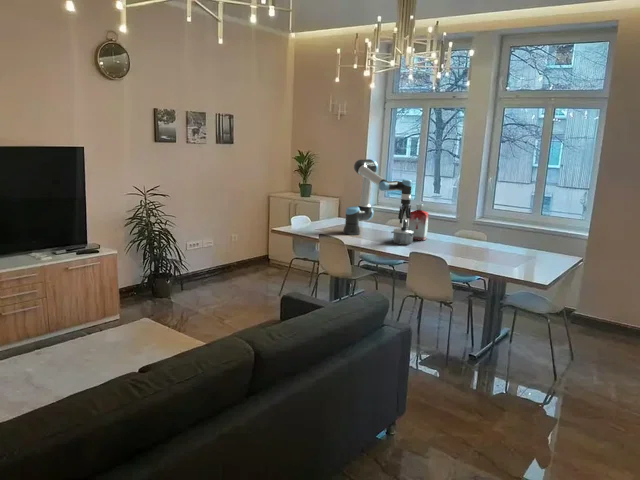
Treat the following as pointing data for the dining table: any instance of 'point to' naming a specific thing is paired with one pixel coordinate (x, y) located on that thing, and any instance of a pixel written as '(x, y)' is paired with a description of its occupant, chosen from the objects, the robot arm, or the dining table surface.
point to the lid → (403, 229)
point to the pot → (403, 238)
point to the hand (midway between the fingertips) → (403, 226)
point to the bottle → (419, 223)
